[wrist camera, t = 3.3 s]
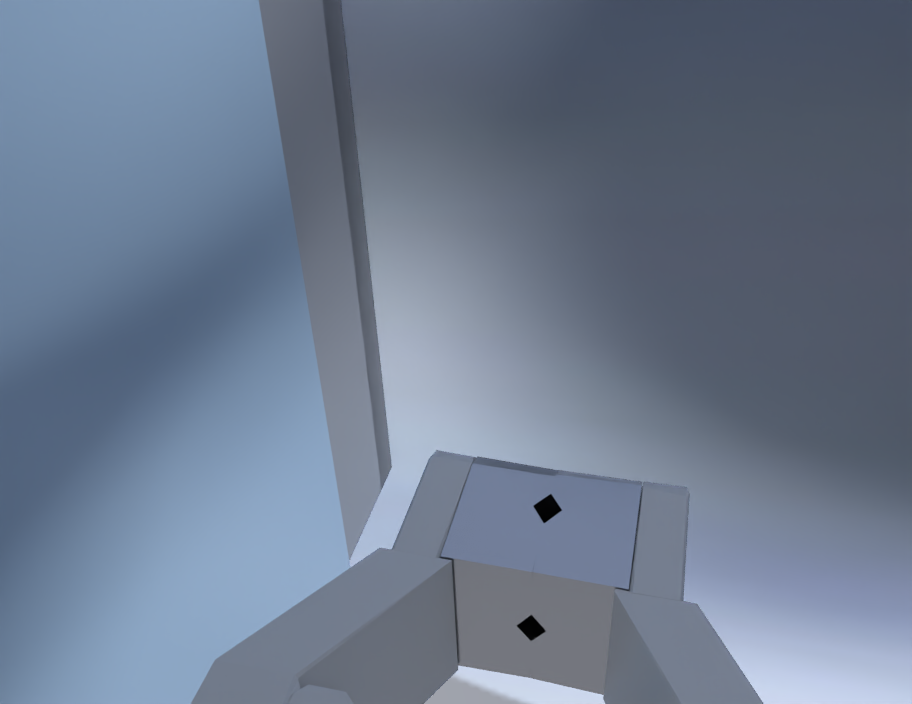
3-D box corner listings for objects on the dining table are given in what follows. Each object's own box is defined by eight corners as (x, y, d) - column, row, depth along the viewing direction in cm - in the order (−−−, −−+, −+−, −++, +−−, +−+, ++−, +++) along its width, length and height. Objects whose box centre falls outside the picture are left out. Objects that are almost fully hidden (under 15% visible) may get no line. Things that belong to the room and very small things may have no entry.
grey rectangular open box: (-210, -471, 16) (-505, -526, 12) (282, -529, 14) (110, -617, 10) (107, 423, 29) (11, 533, 25) (391, 467, 27) (333, 595, 23)
